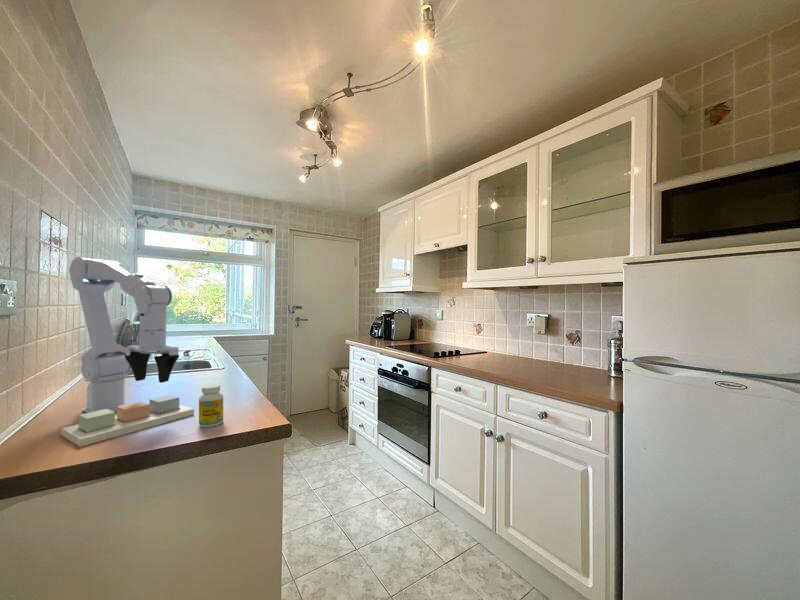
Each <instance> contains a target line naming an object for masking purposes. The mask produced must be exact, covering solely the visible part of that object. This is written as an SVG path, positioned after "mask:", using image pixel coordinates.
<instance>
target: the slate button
mask: <svg viewBox="0 0 800 600" xmlns="http://www.w3.org/2000/svg"><path fill="white" fill-rule="evenodd" d="M149 404H150V411H152V412H155V413H158V414H159V413H161V414H162V413H163V412H165V413H166V412H167V411H169V412H170V411H171V410H175V409H179V404H180V397H179V396H177V395H172V394H167V395H164V396H158V397H153V398H150V399H149ZM158 414H157V415H158Z"/></svg>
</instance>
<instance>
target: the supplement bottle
mask: <svg viewBox="0 0 800 600" xmlns="http://www.w3.org/2000/svg"><path fill="white" fill-rule="evenodd" d="M220 391H221V385H220V384H208V385H207V384H206V385H204V386H202V388H201V392H202V395H200V396H199V398H198V425H199V427H200V428H204V427H206V428H213V426H214V427H217V426H219V425H221V424H223V423H224V394H223V393H222V392H220Z"/></svg>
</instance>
